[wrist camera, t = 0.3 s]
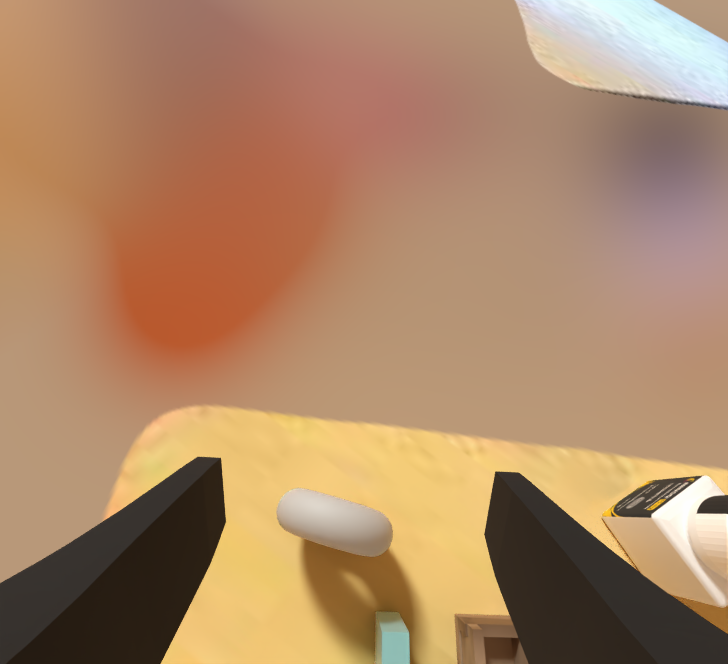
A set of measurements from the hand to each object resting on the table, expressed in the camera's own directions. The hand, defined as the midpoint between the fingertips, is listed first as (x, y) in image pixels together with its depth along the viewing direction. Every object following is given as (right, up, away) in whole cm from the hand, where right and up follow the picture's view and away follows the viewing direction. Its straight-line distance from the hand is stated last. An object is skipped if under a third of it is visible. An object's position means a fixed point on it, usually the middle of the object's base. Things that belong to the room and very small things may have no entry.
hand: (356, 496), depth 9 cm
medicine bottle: (+28, -16, +26) cm, 42 cm away
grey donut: (-3, -14, +25) cm, 29 cm away
